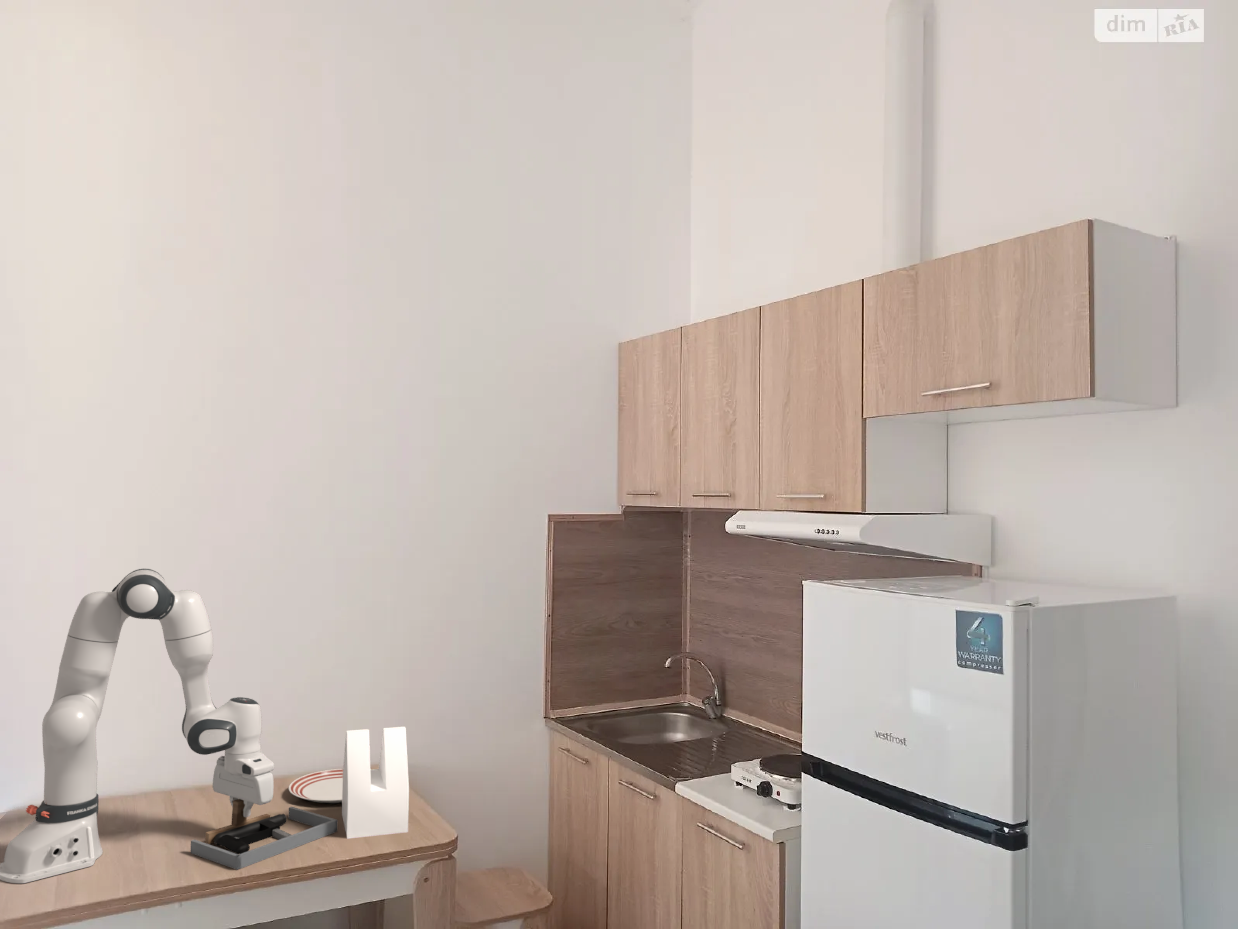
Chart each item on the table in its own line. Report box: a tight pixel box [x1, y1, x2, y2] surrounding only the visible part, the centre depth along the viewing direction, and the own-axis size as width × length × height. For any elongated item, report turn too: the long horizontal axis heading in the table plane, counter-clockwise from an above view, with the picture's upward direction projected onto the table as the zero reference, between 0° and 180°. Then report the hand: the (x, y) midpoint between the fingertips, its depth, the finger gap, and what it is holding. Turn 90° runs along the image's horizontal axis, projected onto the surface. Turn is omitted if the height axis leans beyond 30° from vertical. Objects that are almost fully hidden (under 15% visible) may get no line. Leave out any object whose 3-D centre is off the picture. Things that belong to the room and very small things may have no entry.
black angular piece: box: [214, 813, 292, 855], centre depth 241 cm, size 3×20×16 cm
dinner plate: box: [288, 768, 343, 804], centre depth 278 cm, size 28×27×3 cm
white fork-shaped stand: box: [341, 726, 410, 840], centre depth 255 cm, size 19×15×25 cm
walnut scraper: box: [204, 799, 271, 845], centre depth 244 cm, size 18×2×8 cm, turn 148°
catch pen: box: [190, 806, 339, 870], centre depth 239 cm, size 30×18×3 cm, turn 148°
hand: (241, 815), depth 245 cm, fingers closed on walnut scraper, 2 cm apart
